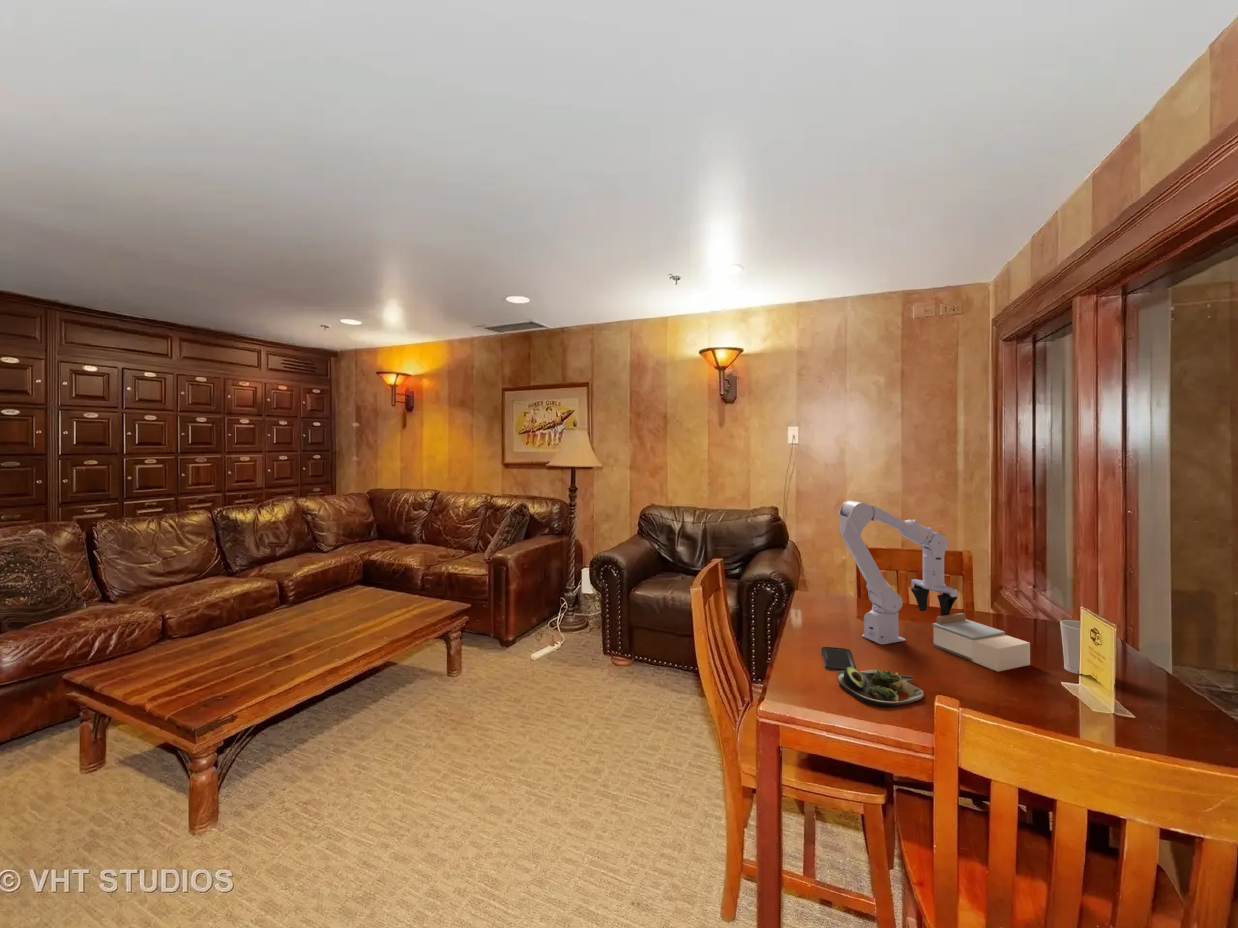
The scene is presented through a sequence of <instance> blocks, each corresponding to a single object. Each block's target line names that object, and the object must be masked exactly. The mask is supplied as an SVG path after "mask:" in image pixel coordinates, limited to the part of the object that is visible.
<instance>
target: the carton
mask: <svg viewBox="0 0 1238 928" xmlns="http://www.w3.org/2000/svg"><path fill="white" fill-rule="evenodd" d="M932 626H933V625H932ZM932 633H933V647H935V648H937V649H940V650H942V651H945V652H947V653H950V654H952V655H955V656H957V657H960V658H961V659H965V660H967V661H970V662H972V663H976V664H978V665H980V666H982V667H985V668H988V669H989V670H993V671H995V672H1003V671H1007V670H1012V669H1017V668H1021V667H1022V668H1023V667H1027V666H1030V665H1031V642H1030V641H1029V642H1028V641H1026V640H1023V639H1020V638H1016V637H1013V636H1011V635H1007V634H1005V633H1004V634H998V635H993V636H987V637H982V638H976V639H970V638H968V637H965V636H962V635H959V634H956V633H953V632H950V631H948V630H945V629H942V628H939V627H936V626H933V632H932Z"/></svg>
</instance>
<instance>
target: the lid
mask: <svg viewBox="0 0 1238 928" xmlns="http://www.w3.org/2000/svg"><path fill="white" fill-rule="evenodd" d="M931 625H932V626H936V627H939V628H942V629H945V630H948V631H950V632H953V633H956V634H959V635H962V636H965V637H968V638H970V639H976V638H982V637H987V636H993V635H998V634H1004V635H1005V634H1006V633H1005V632H1006V631H1004V630H1001V629H998V628H995V627H991V626H988V625H985V624H983V623H979V622H976V621H973V620H969V619H967V618H966V613H964V612H959V613H958V612H957V613H953V614H951V613H949V615H944V616H941V615H940V616H939V615H938V616H936V622H933V623H932V624H931Z"/></svg>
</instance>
